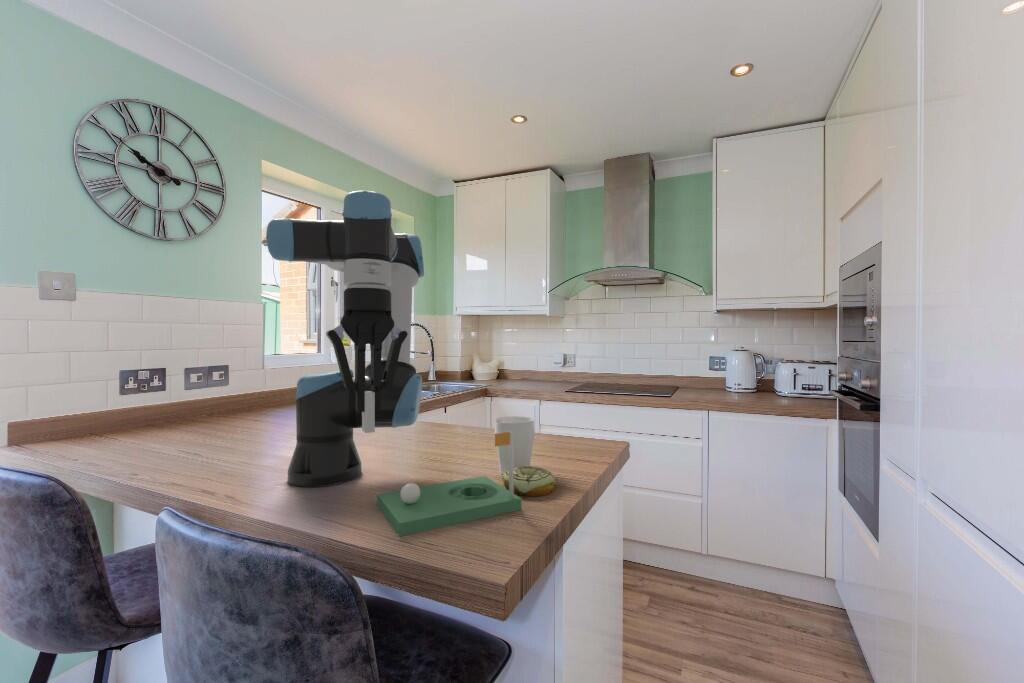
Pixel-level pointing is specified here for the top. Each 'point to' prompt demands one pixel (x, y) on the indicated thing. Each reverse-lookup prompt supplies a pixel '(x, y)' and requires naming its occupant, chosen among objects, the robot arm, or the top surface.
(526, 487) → the decorated donut
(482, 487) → the green
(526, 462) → the cup
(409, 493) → the ball
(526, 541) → the top surface
